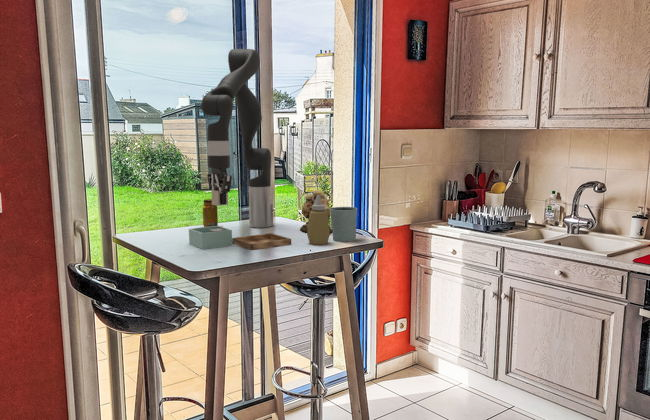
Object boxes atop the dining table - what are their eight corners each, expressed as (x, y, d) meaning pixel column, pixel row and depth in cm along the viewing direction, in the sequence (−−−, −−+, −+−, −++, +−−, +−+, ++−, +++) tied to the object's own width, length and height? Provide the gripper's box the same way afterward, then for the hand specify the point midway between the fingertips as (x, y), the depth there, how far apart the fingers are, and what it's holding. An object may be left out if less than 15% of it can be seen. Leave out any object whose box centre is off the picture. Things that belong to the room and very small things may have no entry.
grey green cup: (355, 243, 200) (355, 210, 198) (328, 242, 201) (328, 209, 200) (358, 237, 210) (358, 206, 208) (332, 236, 211) (332, 206, 210)
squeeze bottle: (303, 246, 194) (303, 195, 191) (312, 242, 201) (311, 193, 199) (325, 247, 191) (325, 196, 189) (332, 243, 199) (333, 194, 196)
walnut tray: (271, 239, 205) (270, 233, 205) (291, 246, 194) (291, 238, 194) (232, 245, 196) (232, 237, 196) (251, 251, 185) (251, 244, 184)
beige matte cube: (221, 203, 193) (221, 189, 192) (228, 204, 190) (227, 190, 190) (211, 204, 190) (211, 190, 190) (218, 205, 187) (217, 191, 187)
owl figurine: (291, 229, 228) (291, 188, 225) (315, 227, 234) (315, 187, 232) (315, 236, 213) (315, 192, 211) (340, 233, 219) (340, 191, 217)
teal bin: (218, 241, 202) (217, 225, 201) (232, 246, 193) (231, 230, 192) (189, 245, 195) (188, 228, 195) (202, 250, 187) (201, 233, 186)
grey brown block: (219, 242, 198) (219, 228, 198) (224, 243, 195) (224, 230, 195) (209, 243, 196) (209, 229, 195) (214, 245, 193) (213, 231, 192)
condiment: (203, 226, 235) (202, 198, 233) (223, 226, 236) (222, 198, 235) (201, 229, 228) (201, 200, 226) (222, 228, 229) (221, 200, 228)
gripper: (238, 154, 185) (239, 205, 187) (218, 153, 196) (219, 201, 198) (218, 155, 180) (219, 206, 182) (199, 153, 191) (200, 202, 193)
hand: (219, 203), depth 190 cm, fingers closed on beige matte cube, 4 cm apart
